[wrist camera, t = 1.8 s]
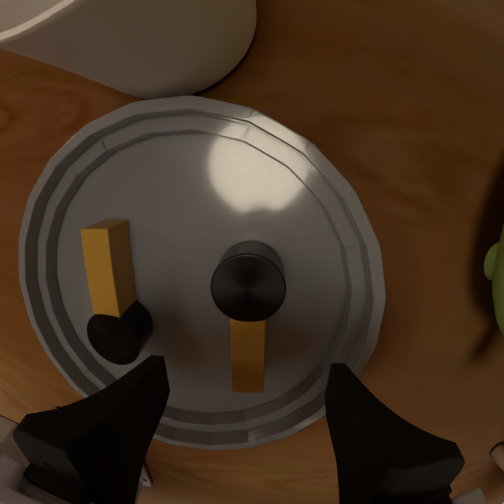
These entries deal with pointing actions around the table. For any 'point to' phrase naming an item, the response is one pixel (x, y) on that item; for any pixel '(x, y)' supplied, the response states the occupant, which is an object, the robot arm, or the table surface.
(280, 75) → the table surface
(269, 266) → the key
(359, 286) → the round grey plant saucer
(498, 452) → the planter
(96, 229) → the key
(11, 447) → the cosmetics box
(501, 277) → the teapot
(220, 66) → the mug
